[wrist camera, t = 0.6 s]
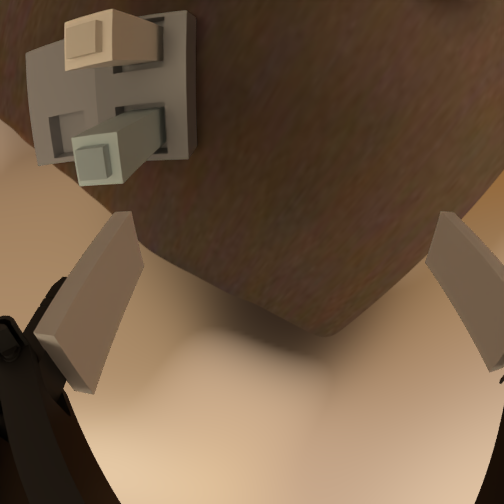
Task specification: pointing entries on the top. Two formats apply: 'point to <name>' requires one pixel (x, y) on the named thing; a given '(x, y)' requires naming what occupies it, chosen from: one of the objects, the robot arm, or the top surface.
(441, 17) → the top surface
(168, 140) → the panel
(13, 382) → the robot arm
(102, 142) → the plug
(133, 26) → the plug
